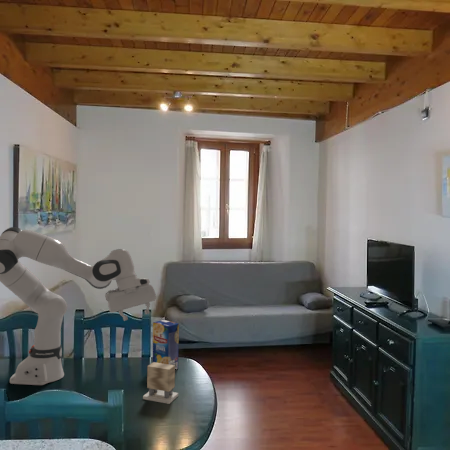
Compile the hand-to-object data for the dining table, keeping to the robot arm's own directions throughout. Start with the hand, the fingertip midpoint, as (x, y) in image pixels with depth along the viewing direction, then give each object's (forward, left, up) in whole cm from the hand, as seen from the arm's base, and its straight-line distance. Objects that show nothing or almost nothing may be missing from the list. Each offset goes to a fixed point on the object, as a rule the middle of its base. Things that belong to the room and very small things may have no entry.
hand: (136, 317), depth 181 cm
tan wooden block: (+11, -7, -27) cm, 30 cm away
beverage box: (+12, +26, -32) cm, 43 cm away
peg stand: (+11, -7, -32) cm, 34 cm away
